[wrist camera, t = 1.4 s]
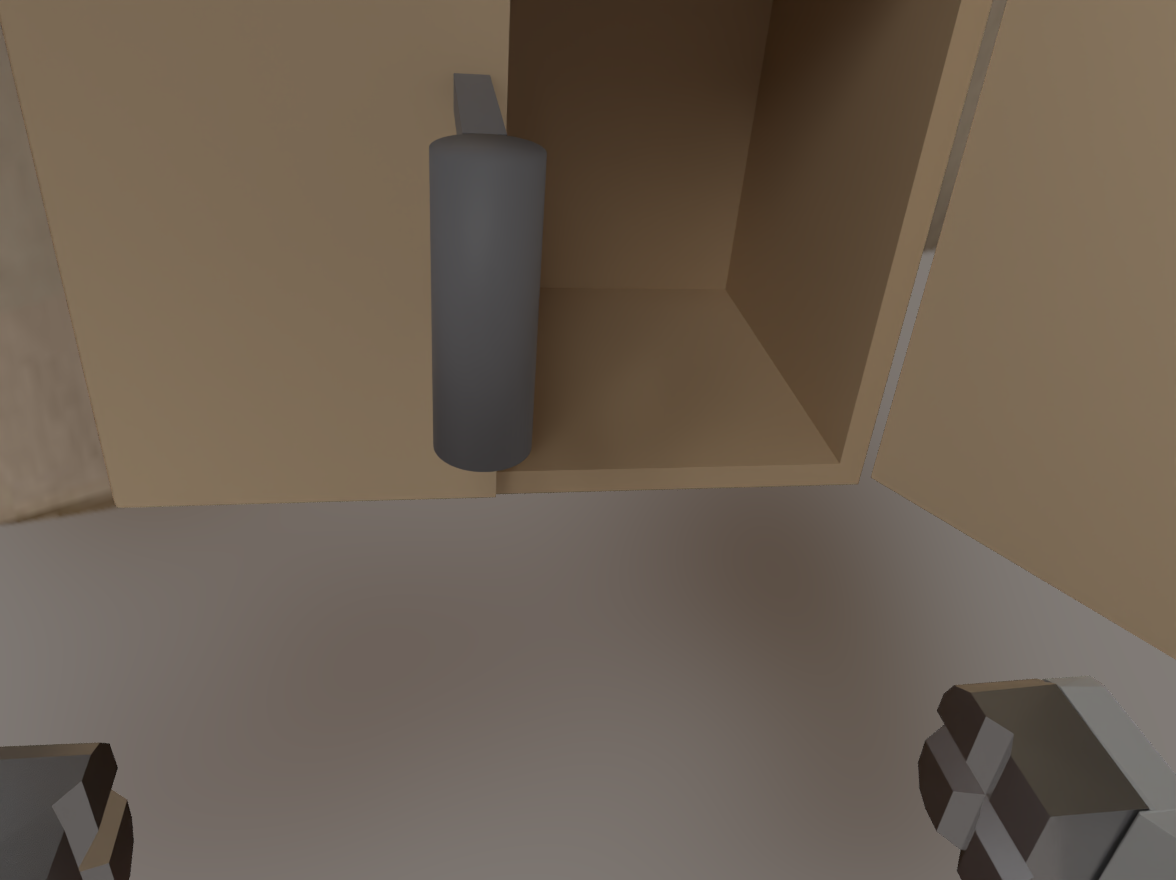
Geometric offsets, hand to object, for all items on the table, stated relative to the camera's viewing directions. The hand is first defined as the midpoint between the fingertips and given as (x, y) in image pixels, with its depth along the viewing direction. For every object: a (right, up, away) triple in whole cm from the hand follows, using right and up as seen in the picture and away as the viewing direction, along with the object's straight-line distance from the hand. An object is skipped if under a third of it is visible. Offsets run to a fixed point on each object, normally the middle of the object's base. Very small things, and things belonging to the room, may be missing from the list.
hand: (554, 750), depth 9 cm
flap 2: (+13, +7, +12) cm, 19 cm away
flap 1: (-7, +9, +13) cm, 17 cm away
